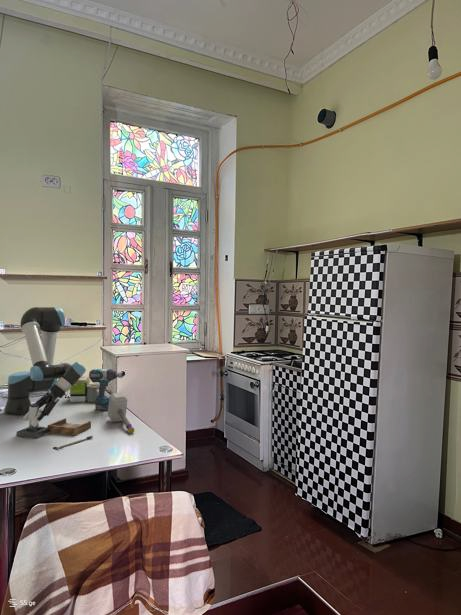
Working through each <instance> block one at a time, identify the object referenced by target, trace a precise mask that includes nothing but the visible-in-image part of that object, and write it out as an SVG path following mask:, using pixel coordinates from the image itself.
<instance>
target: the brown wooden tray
mask: <svg viewBox="0 0 461 615" xmlns="http://www.w3.org/2000/svg"><path fill="white" fill-rule="evenodd" d="M46 427H47V428H50V433H51V434H58V435H66V436H67V435H69V436H77V435H79V434H81V433H83V432H85V431H87V430H90V429H91V428H92V421H91V420H88V421H87V422H83V423H82V424H79V423H71V422H70V423H69V422H67V417H66V418H62V419H60V420H57V421H55V422H52V423H50V424H47V425H46ZM50 433H49V434H50Z"/></svg>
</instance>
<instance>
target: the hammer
mask: <svg viewBox="0 0 461 615" xmlns="http://www.w3.org/2000/svg"><path fill="white" fill-rule="evenodd" d="M108 397H109V407H108V410H107V416H108V418H109V419H110V422H111V423H120V422H123V423H124V425H125V428H126V430H127V432H128V433H129V434H134V433H135V428H134V427H133V425H132V423H130V421H129V420H128V418H127V416H126V415H127V408H128V407H127V406H128V405H127V404H128V399H127V397H126V396H125V394H124V393H123V392H114V393H111V394H109V396H108Z"/></svg>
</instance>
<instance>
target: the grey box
mask: <svg viewBox="0 0 461 615" xmlns="http://www.w3.org/2000/svg"><path fill="white" fill-rule="evenodd" d="M99 386H100V383H98V384H90V385H88V386H87V400H86V402H88V403H97V402H96V397H97V396H98V395H99Z"/></svg>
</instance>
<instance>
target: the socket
mask: <svg viewBox="0 0 461 615" xmlns="http://www.w3.org/2000/svg"><path fill="white" fill-rule="evenodd" d="M48 434H50V428H47V426H40V425H39V430H38V431H36V432H31V431H29V426H28V427H25V428H23V429H20V430H18V431H16V437H17V438H26V439H35V440H36V439H39V438H41V437H42V436H45V435H48Z"/></svg>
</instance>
